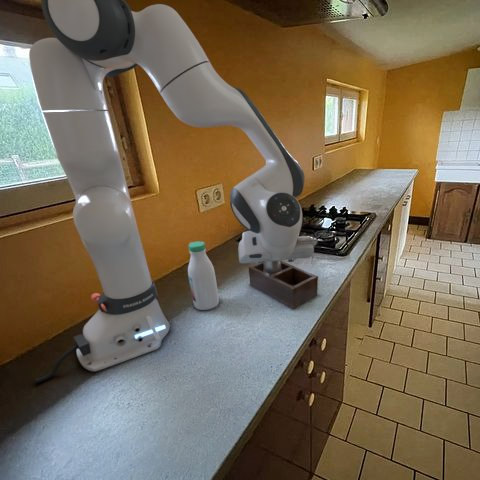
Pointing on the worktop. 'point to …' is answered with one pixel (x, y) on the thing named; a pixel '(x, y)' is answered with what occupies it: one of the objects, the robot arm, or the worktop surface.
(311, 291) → the bottle rack
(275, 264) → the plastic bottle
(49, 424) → the worktop surface
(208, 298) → the milk bottle
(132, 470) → the worktop surface
